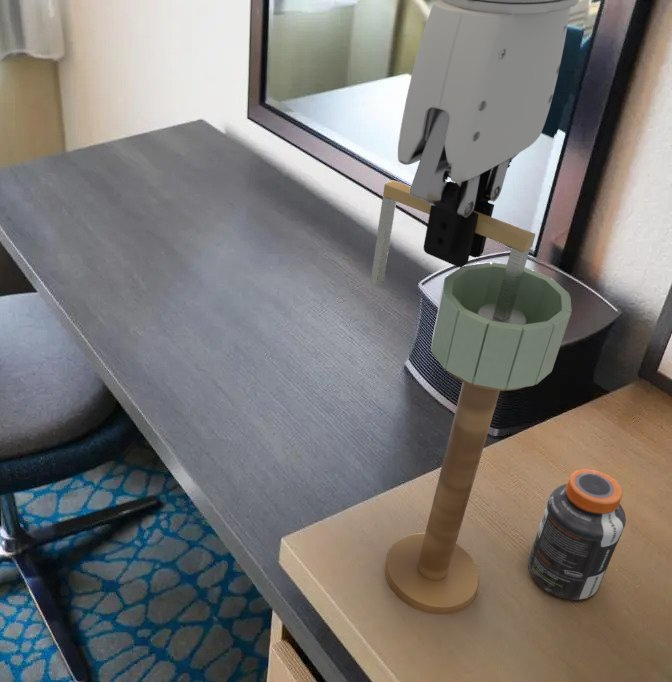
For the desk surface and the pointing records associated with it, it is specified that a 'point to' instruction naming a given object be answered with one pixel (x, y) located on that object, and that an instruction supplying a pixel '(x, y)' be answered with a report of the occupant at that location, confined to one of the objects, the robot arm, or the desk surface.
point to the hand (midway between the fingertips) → (452, 252)
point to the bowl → (499, 327)
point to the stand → (446, 517)
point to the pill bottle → (578, 535)
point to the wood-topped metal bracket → (485, 227)
